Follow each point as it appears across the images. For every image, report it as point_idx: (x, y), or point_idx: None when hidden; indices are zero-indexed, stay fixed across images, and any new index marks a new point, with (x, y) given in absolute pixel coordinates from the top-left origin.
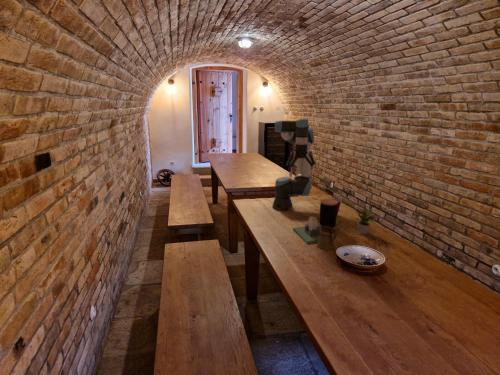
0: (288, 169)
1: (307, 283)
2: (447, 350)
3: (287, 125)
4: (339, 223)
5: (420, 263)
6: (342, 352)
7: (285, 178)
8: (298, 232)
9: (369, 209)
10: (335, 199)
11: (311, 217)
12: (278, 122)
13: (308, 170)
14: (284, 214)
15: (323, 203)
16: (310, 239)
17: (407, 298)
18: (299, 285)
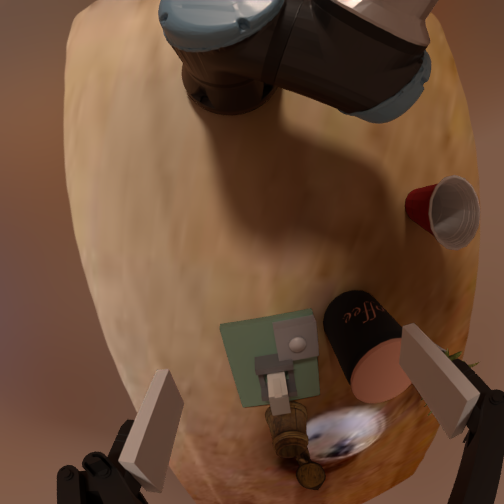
0: (118, 445)
1: (208, 480)
2: None
3: None
4: (311, 487)
5: (411, 442)
6: None
7: None
8: (231, 360)
9: (474, 365)
10: (466, 188)
11: (275, 402)
12: None
13: (427, 361)
14: (220, 158)
15: (353, 393)
16: (255, 400)
17: (325, 493)
18: (196, 480)
